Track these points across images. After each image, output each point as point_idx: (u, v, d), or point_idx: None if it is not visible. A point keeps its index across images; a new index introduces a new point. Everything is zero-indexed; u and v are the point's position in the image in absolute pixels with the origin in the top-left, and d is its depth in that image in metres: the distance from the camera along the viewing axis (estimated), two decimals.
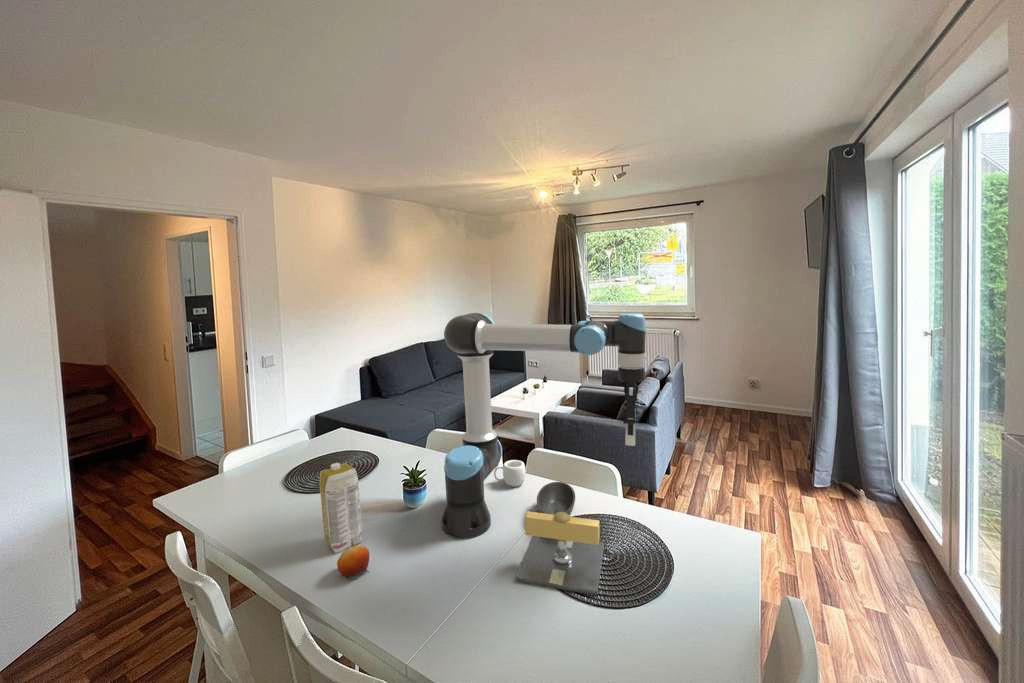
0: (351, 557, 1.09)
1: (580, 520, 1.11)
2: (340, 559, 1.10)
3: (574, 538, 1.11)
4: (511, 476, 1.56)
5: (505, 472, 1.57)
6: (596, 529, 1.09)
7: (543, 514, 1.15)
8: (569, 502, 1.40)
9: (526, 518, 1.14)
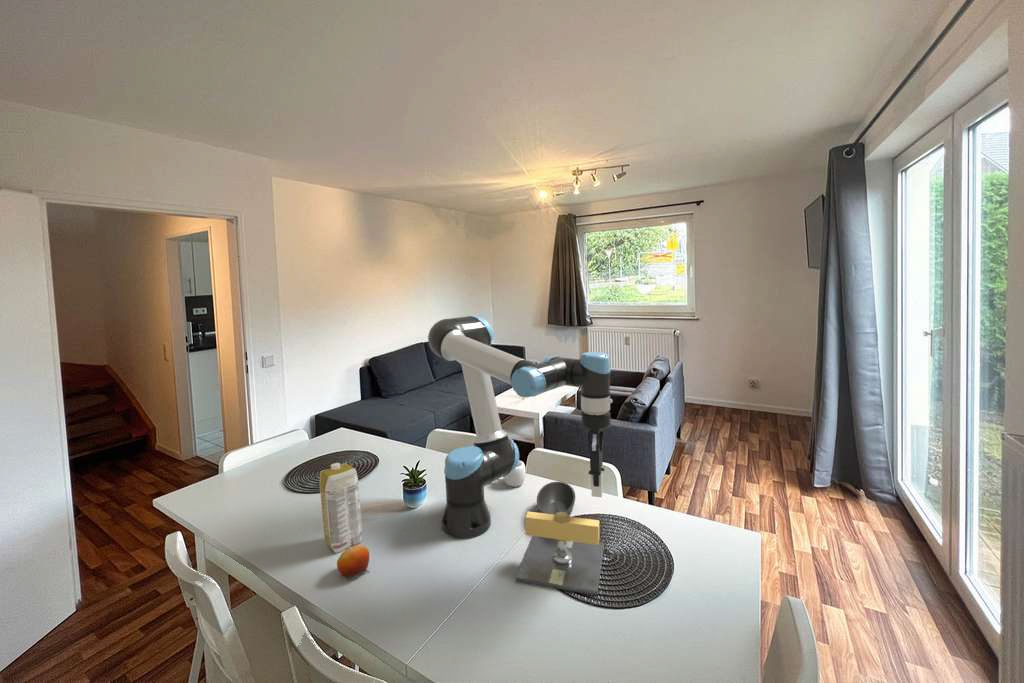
0: (351, 557, 1.09)
1: (580, 520, 1.11)
2: (340, 559, 1.10)
3: (574, 538, 1.11)
4: (511, 476, 1.56)
5: None
6: (596, 529, 1.09)
7: (543, 514, 1.15)
8: (569, 502, 1.40)
9: (526, 518, 1.14)
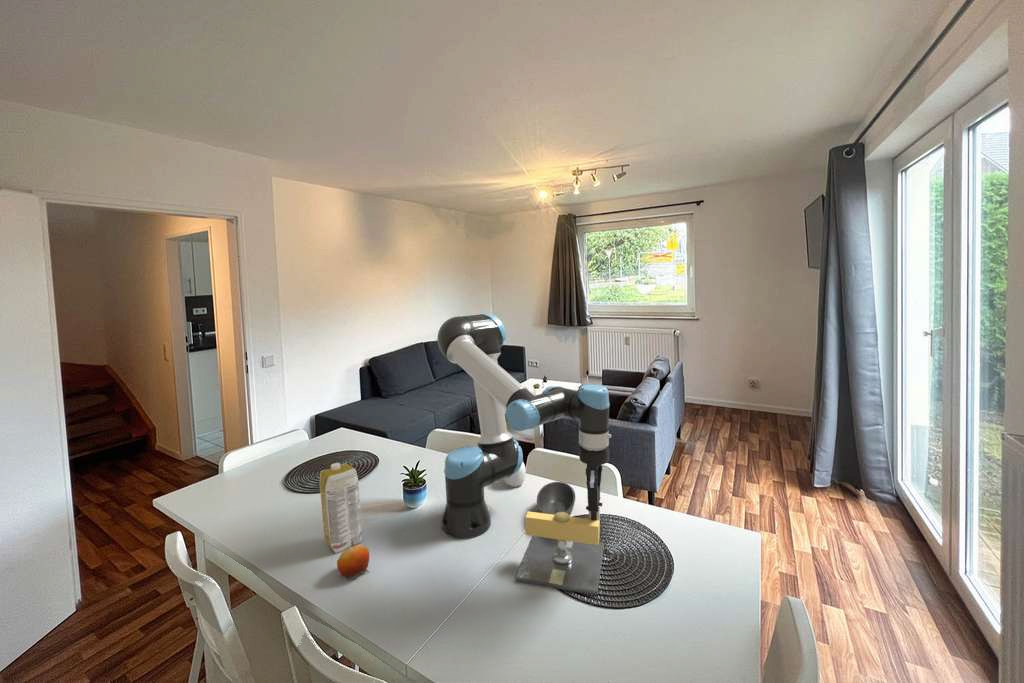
0: (351, 557, 1.09)
1: (580, 520, 1.11)
2: (340, 559, 1.10)
3: (574, 538, 1.11)
4: (511, 476, 1.56)
5: None
6: (596, 529, 1.09)
7: (543, 514, 1.15)
8: (569, 502, 1.40)
9: (526, 518, 1.14)
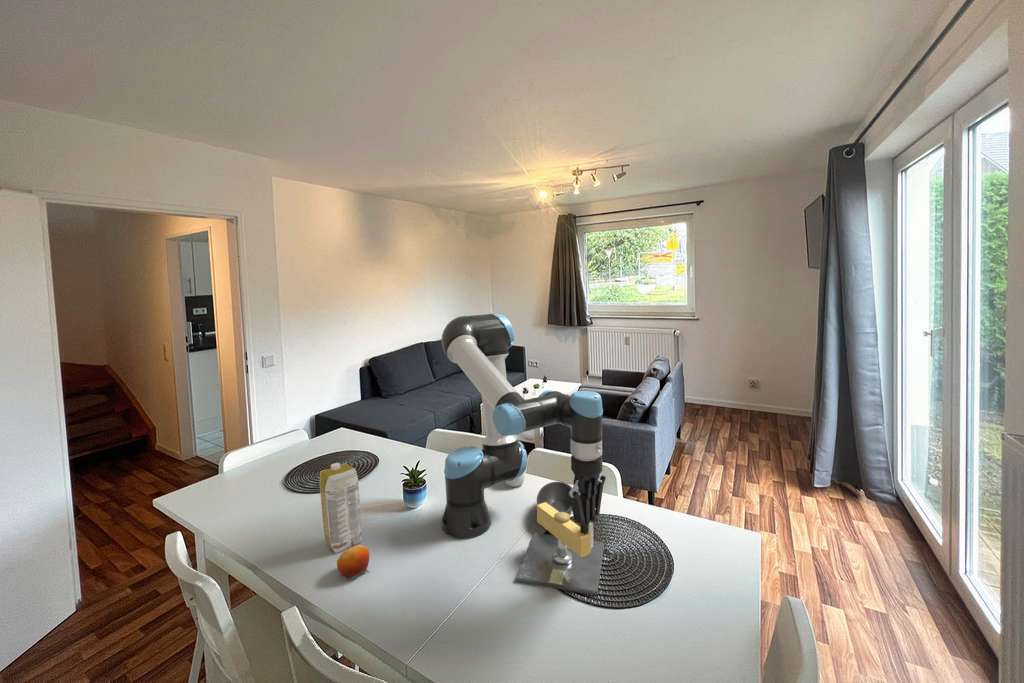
0: (351, 557, 1.09)
1: (574, 527, 1.09)
2: (340, 559, 1.10)
3: (565, 541, 1.10)
4: None
5: None
6: (579, 540, 1.04)
7: (553, 509, 1.18)
8: (569, 502, 1.40)
9: (537, 506, 1.20)
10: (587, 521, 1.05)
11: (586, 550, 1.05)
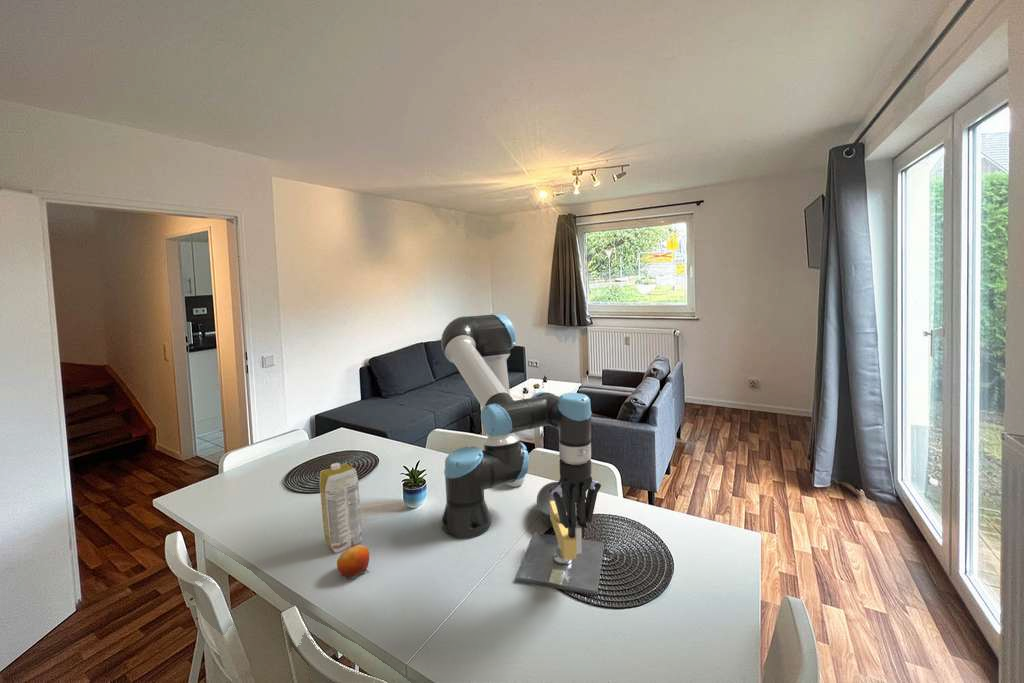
0: (351, 557, 1.09)
1: (566, 529, 1.08)
2: (340, 559, 1.10)
3: (559, 541, 1.10)
4: None
5: None
6: (563, 542, 1.04)
7: None
8: None
9: (550, 502, 1.22)
10: (572, 525, 1.03)
11: (570, 554, 1.04)
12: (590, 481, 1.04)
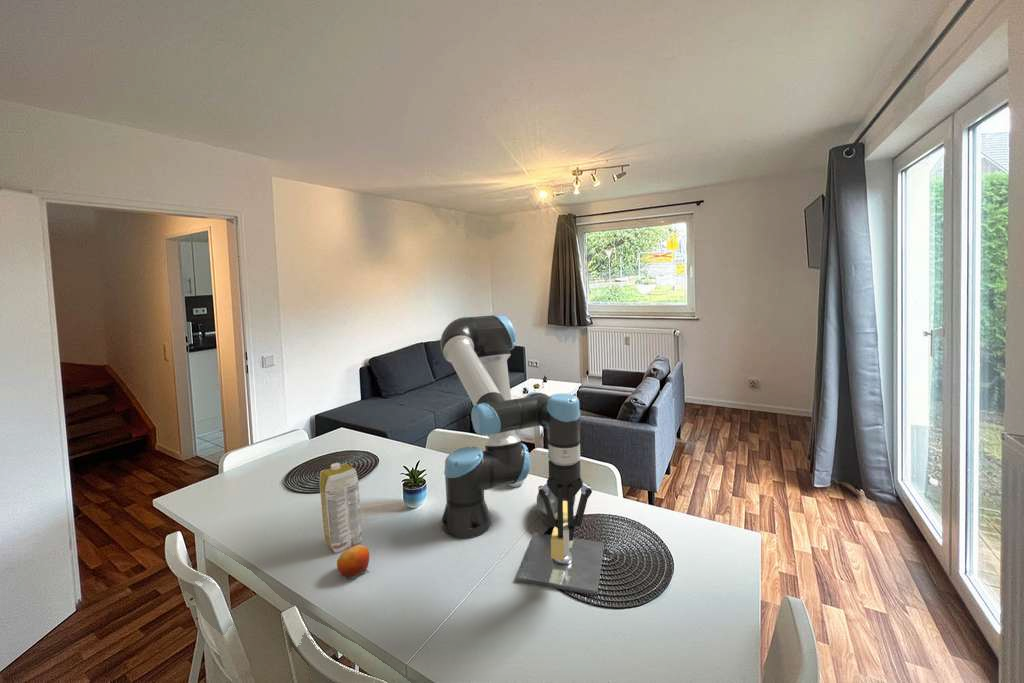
0: (351, 557, 1.09)
1: None
2: (340, 559, 1.10)
3: None
4: None
5: None
6: (551, 541, 1.04)
7: None
8: None
9: None
10: (559, 525, 1.03)
11: (557, 554, 1.04)
12: (579, 485, 1.02)
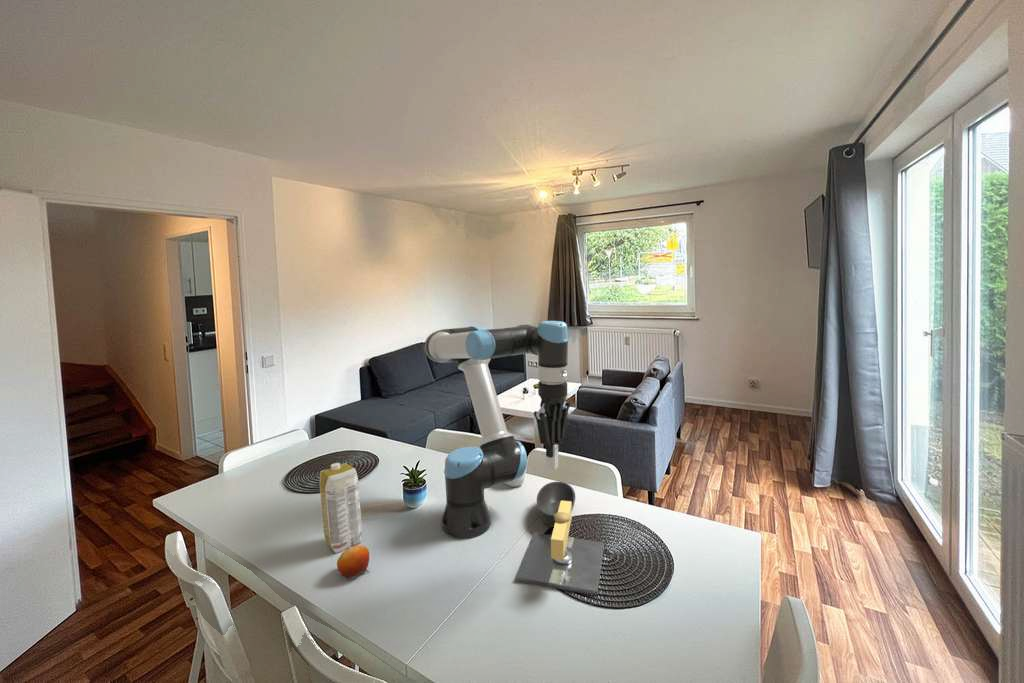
0: (351, 557, 1.09)
1: (560, 529, 1.08)
2: (340, 559, 1.10)
3: None
4: None
5: None
6: (551, 541, 1.04)
7: (567, 509, 1.17)
8: None
9: (560, 502, 1.22)
10: (552, 442, 1.12)
11: (557, 554, 1.04)
12: (563, 400, 1.14)
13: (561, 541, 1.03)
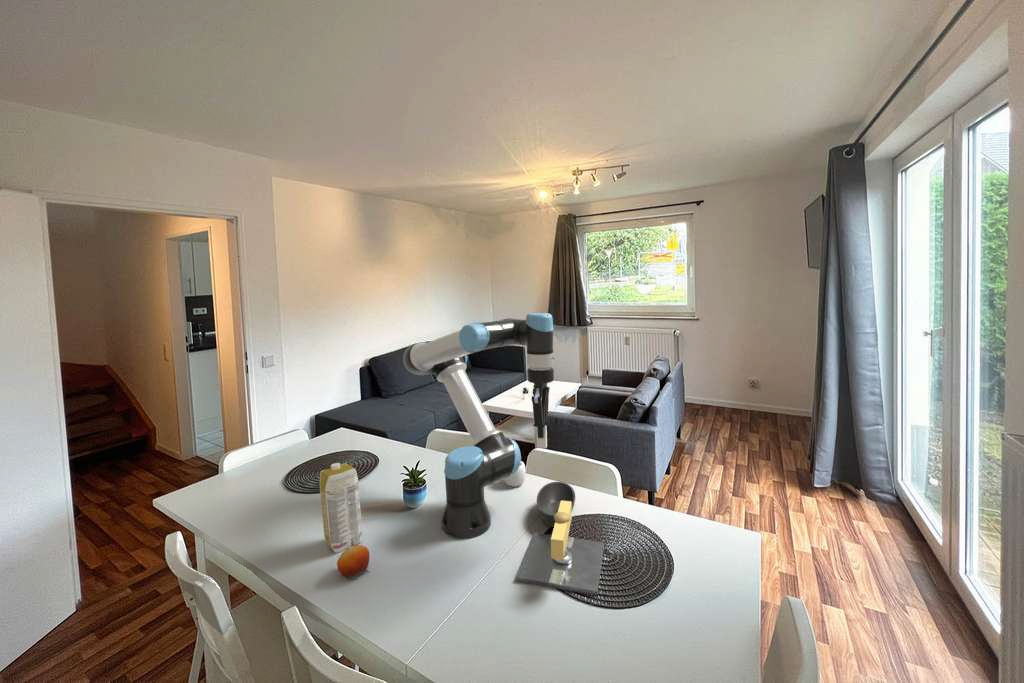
0: (351, 557, 1.09)
1: (560, 529, 1.08)
2: (340, 559, 1.10)
3: None
4: (511, 476, 1.56)
5: None
6: (551, 541, 1.04)
7: (567, 509, 1.17)
8: None
9: (560, 502, 1.22)
10: (544, 424, 1.23)
11: (557, 554, 1.04)
12: (546, 385, 1.26)
13: (561, 541, 1.03)
